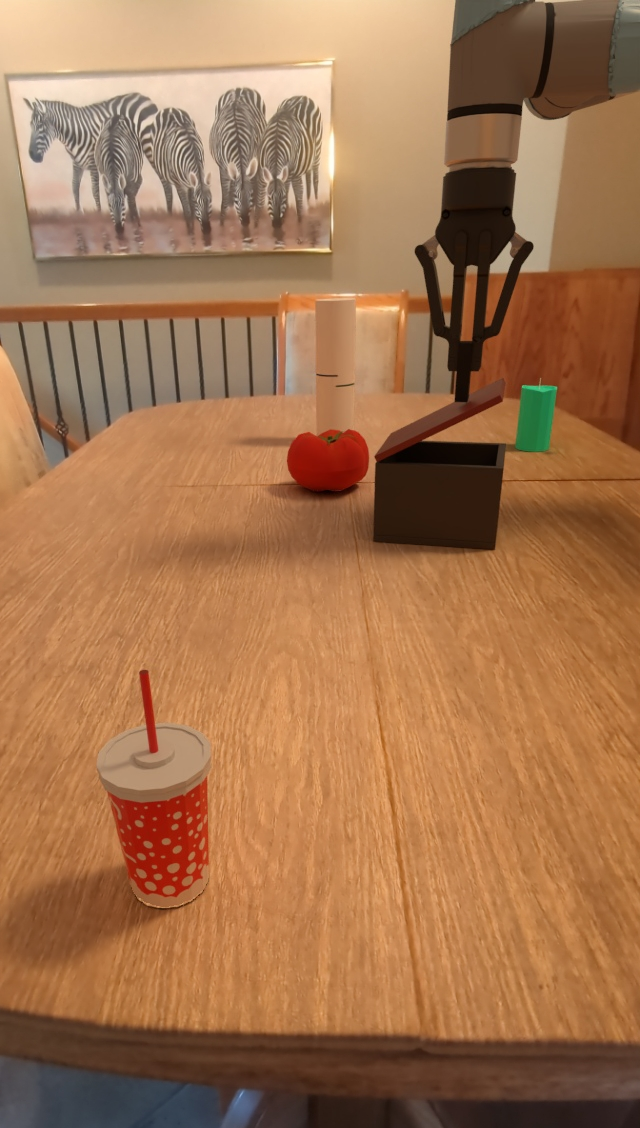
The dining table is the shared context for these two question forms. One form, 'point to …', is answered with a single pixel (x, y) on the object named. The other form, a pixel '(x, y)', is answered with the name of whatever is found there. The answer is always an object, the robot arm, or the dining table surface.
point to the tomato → (328, 460)
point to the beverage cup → (160, 805)
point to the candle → (535, 418)
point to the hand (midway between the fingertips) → (461, 400)
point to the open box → (440, 494)
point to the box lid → (442, 419)
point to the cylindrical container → (335, 364)
